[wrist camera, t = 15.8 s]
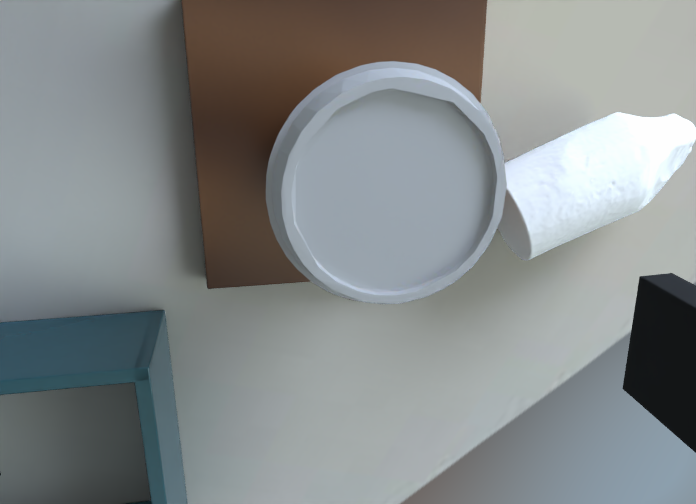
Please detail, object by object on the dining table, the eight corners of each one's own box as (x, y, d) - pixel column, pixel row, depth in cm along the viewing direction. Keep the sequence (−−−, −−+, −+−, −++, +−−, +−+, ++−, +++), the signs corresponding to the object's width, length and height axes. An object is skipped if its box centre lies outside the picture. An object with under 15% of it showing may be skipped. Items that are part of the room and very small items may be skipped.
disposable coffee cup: (458, 139, 34) (566, 183, 23) (347, 260, 35) (399, 358, 24) (337, 17, 31) (395, -1, 20) (219, 155, 32) (211, 212, 21)
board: (182, -10, 31) (179, -13, 29) (477, -8, 33) (488, -10, 32) (208, 279, 36) (207, 289, 34) (462, 262, 38) (470, 270, 37)
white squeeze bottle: (666, 169, 39) (733, 187, 34) (501, 246, 38) (542, 277, 33) (648, 81, 37) (717, 86, 31) (472, 162, 36) (512, 181, 31)
